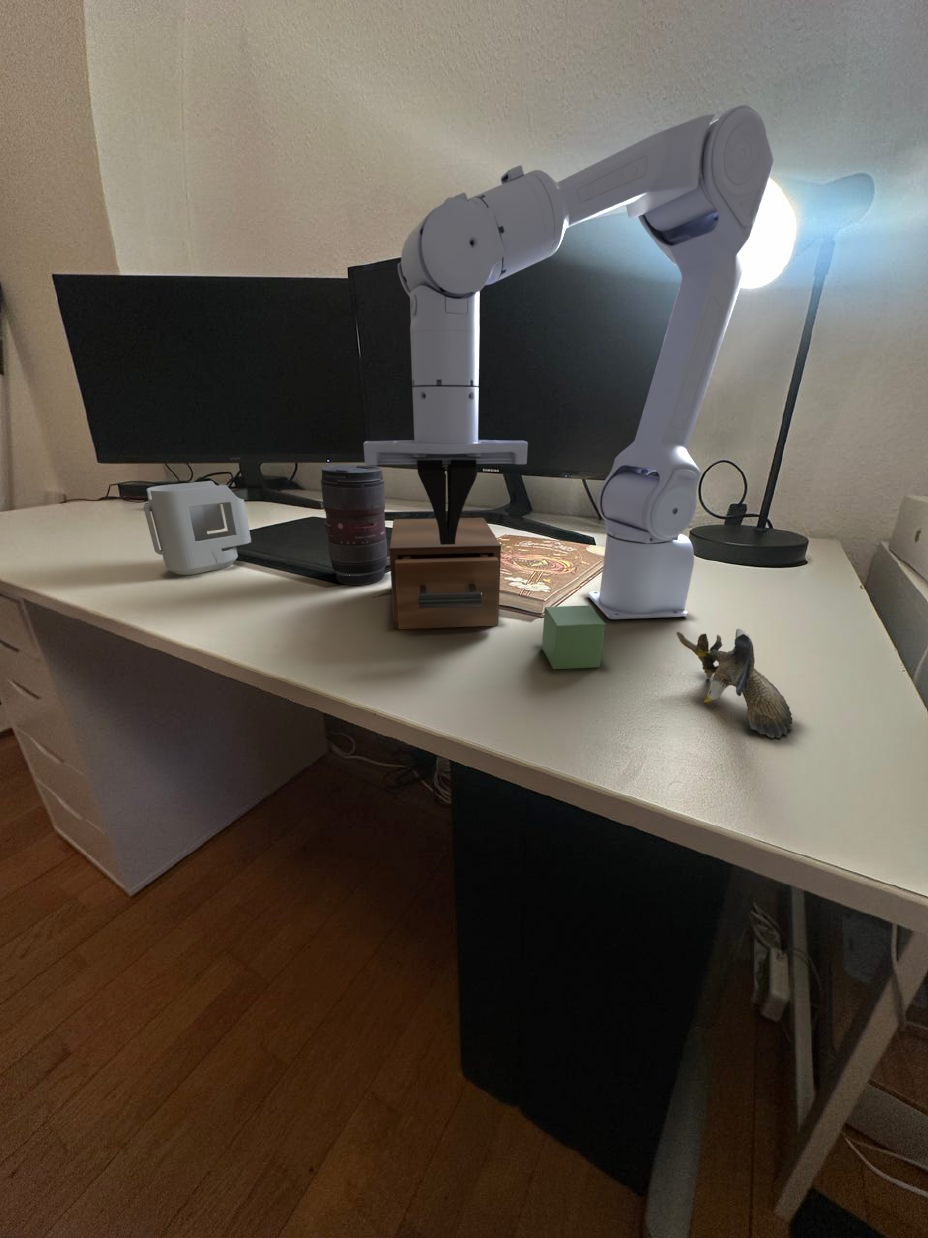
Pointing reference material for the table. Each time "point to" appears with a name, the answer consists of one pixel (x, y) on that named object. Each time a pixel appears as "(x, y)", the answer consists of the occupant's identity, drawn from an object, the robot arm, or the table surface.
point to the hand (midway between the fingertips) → (447, 541)
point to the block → (572, 637)
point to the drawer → (446, 590)
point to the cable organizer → (196, 526)
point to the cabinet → (439, 545)
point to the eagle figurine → (743, 682)
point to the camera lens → (355, 522)
